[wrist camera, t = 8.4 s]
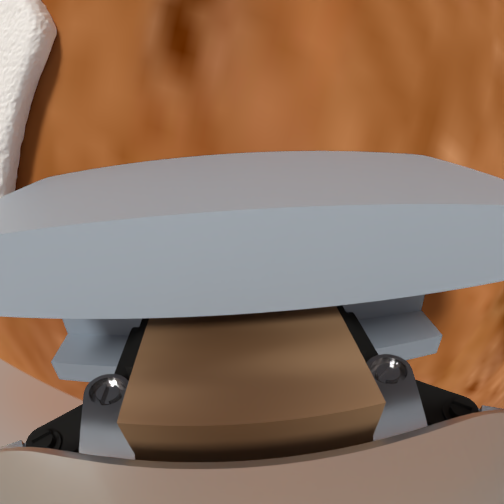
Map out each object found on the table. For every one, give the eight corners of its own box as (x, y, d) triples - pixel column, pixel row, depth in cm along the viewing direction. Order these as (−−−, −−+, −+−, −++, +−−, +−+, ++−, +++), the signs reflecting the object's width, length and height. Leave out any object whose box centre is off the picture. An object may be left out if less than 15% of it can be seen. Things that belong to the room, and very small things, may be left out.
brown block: (297, 236, 12) (386, 402, 5) (293, 354, 14) (335, 513, 7) (176, 244, 12) (116, 422, 4) (195, 361, 14) (184, 525, 7)
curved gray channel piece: (422, 155, 15) (574, 208, 6) (402, 309, 19) (486, 424, 9) (46, 177, 14) (-95, 250, 5) (85, 330, 18) (22, 459, 9)
